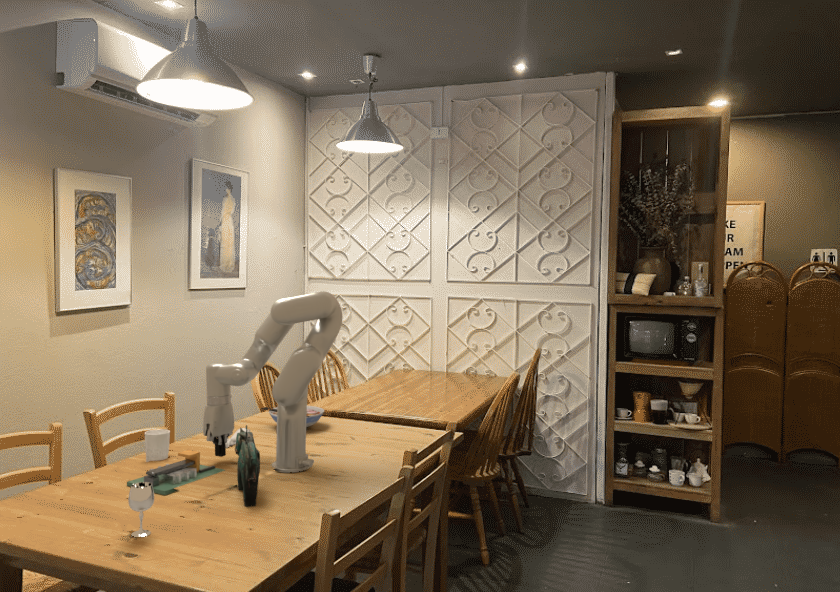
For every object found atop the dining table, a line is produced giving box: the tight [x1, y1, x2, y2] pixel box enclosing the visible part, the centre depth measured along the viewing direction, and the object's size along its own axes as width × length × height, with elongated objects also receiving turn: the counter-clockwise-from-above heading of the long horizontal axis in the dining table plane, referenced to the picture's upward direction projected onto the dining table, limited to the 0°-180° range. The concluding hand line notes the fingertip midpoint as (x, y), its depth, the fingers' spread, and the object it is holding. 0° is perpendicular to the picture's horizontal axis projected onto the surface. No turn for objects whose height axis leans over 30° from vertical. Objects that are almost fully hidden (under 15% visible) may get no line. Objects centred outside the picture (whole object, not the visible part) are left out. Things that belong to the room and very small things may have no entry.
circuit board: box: [126, 464, 226, 496], centre depth 198 cm, size 16×24×2 cm, turn 153°
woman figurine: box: [225, 427, 251, 449], centre depth 243 cm, size 12×4×18 cm
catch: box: [177, 449, 201, 472], centre depth 202 cm, size 5×4×6 cm
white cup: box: [144, 428, 171, 463], centre depth 217 cm, size 8×8×10 cm
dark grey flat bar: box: [145, 459, 195, 477], centre depth 196 cm, size 4×16×1 cm, turn 153°
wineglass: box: [127, 482, 155, 538], centre depth 157 cm, size 6×6×12 cm
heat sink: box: [143, 463, 197, 487], centre depth 195 cm, size 12×14×2 cm
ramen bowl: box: [260, 405, 325, 428], centre depth 269 cm, size 25×23×8 cm
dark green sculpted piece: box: [234, 424, 261, 508], centre depth 185 cm, size 20×6×20 cm, turn 21°
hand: (220, 455), depth 213 cm, fingers closed
